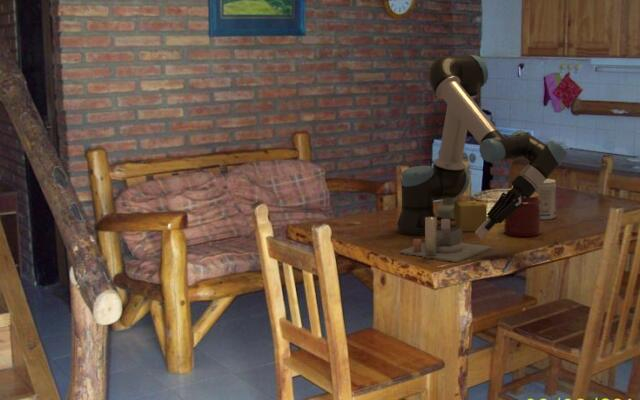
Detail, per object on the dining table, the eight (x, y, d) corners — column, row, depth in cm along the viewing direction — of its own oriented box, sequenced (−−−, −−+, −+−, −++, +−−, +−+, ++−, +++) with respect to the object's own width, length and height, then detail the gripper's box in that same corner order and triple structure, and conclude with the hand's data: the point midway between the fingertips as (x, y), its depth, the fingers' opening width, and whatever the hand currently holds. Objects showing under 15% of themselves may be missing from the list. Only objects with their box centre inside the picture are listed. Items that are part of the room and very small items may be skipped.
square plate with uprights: (399, 253, 292) (399, 221, 290) (435, 240, 309) (435, 210, 307) (456, 263, 278) (457, 229, 276) (491, 249, 295) (491, 217, 293)
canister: (527, 227, 326) (528, 180, 323) (548, 234, 314) (549, 186, 311) (496, 231, 322) (497, 183, 318) (516, 238, 310) (517, 189, 307)
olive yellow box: (481, 225, 332) (481, 199, 331) (487, 231, 322) (487, 204, 320) (453, 226, 332) (453, 200, 330) (458, 232, 322) (459, 205, 320)
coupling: (440, 243, 299) (440, 209, 297) (461, 246, 294) (462, 211, 292) (417, 253, 286) (417, 217, 284) (439, 256, 282) (439, 219, 280)
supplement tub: (540, 214, 350) (541, 177, 348) (560, 217, 343) (561, 180, 340) (525, 217, 344) (525, 180, 342) (545, 221, 337) (546, 183, 334)
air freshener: (453, 215, 352) (453, 190, 351) (467, 218, 346) (467, 193, 344) (432, 218, 347) (432, 193, 345) (446, 221, 340) (446, 196, 338)
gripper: (543, 193, 280) (493, 247, 280) (527, 186, 292) (478, 238, 293) (528, 177, 278) (477, 232, 278) (512, 171, 291) (463, 224, 291)
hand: (478, 235), depth 285 cm, fingers closed
